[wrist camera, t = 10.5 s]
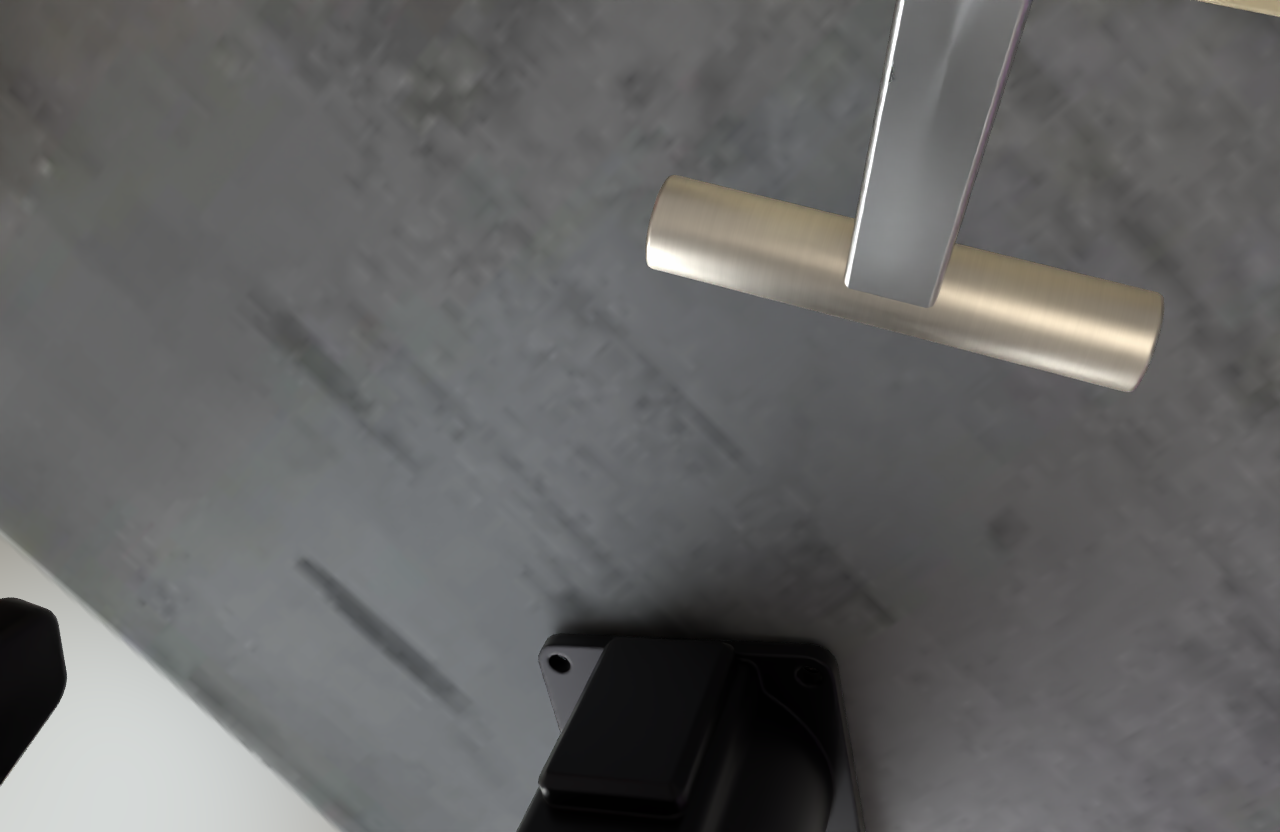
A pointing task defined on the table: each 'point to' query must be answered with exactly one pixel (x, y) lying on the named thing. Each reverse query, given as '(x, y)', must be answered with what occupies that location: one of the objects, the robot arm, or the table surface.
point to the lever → (917, 222)
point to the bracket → (1251, 5)
